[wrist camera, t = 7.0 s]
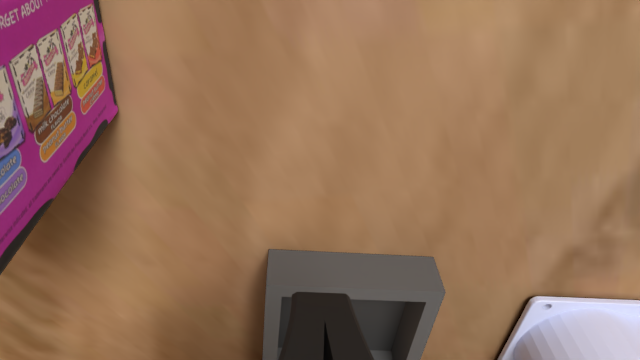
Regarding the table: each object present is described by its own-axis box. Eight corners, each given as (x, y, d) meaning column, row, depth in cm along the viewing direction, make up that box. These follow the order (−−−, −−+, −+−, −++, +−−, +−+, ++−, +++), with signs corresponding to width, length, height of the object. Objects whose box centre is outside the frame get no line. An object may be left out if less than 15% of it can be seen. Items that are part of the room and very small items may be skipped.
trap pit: (433, 256, 25) (445, 292, 23) (400, 355, 30) (408, 391, 28) (268, 249, 24) (266, 284, 22) (263, 352, 29) (261, 388, 27)
